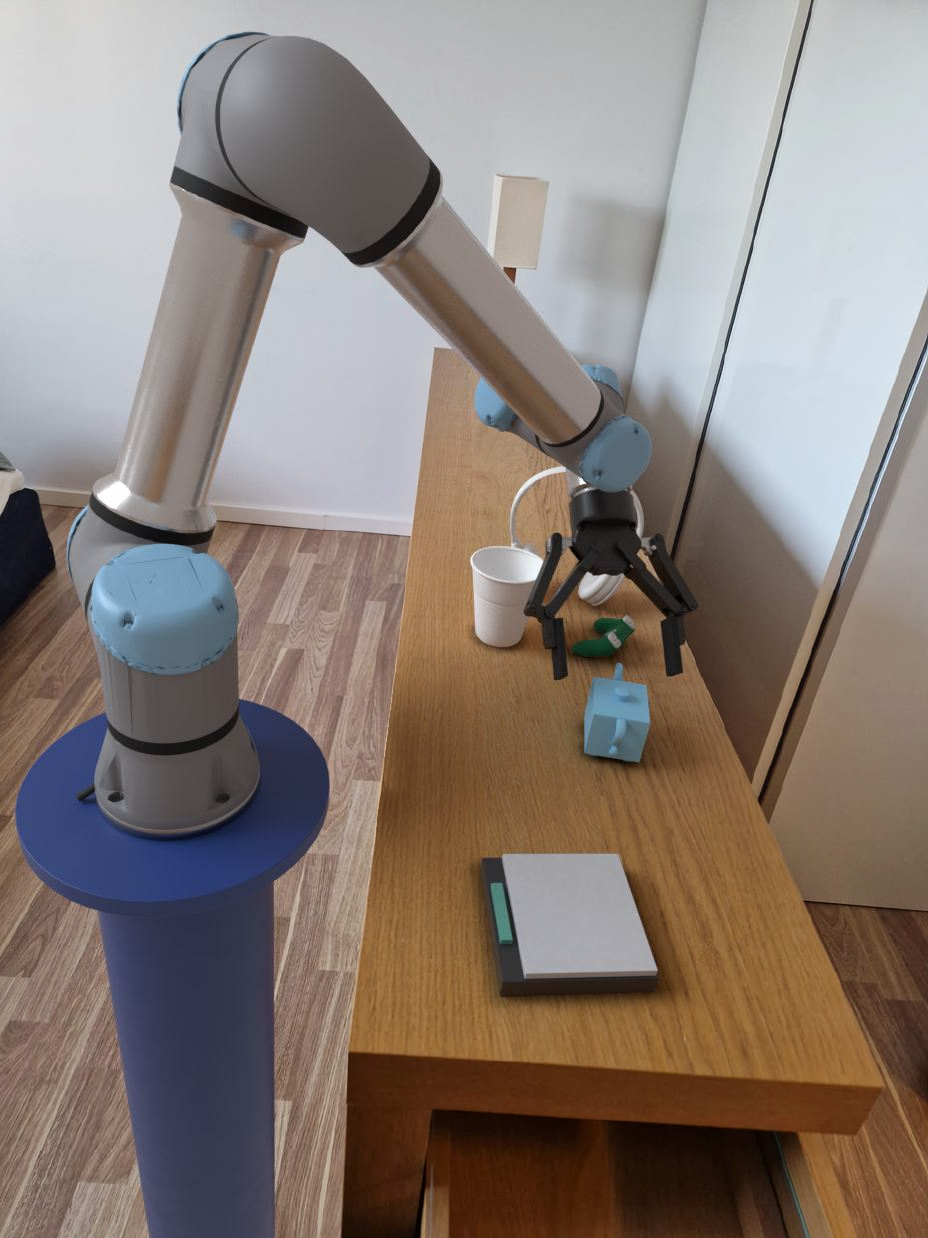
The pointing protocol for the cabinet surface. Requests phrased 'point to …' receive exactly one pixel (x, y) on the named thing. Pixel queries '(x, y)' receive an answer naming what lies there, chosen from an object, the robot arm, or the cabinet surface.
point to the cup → (502, 592)
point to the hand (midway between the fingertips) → (618, 676)
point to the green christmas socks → (606, 637)
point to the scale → (565, 925)
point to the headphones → (591, 586)
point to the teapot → (616, 718)
